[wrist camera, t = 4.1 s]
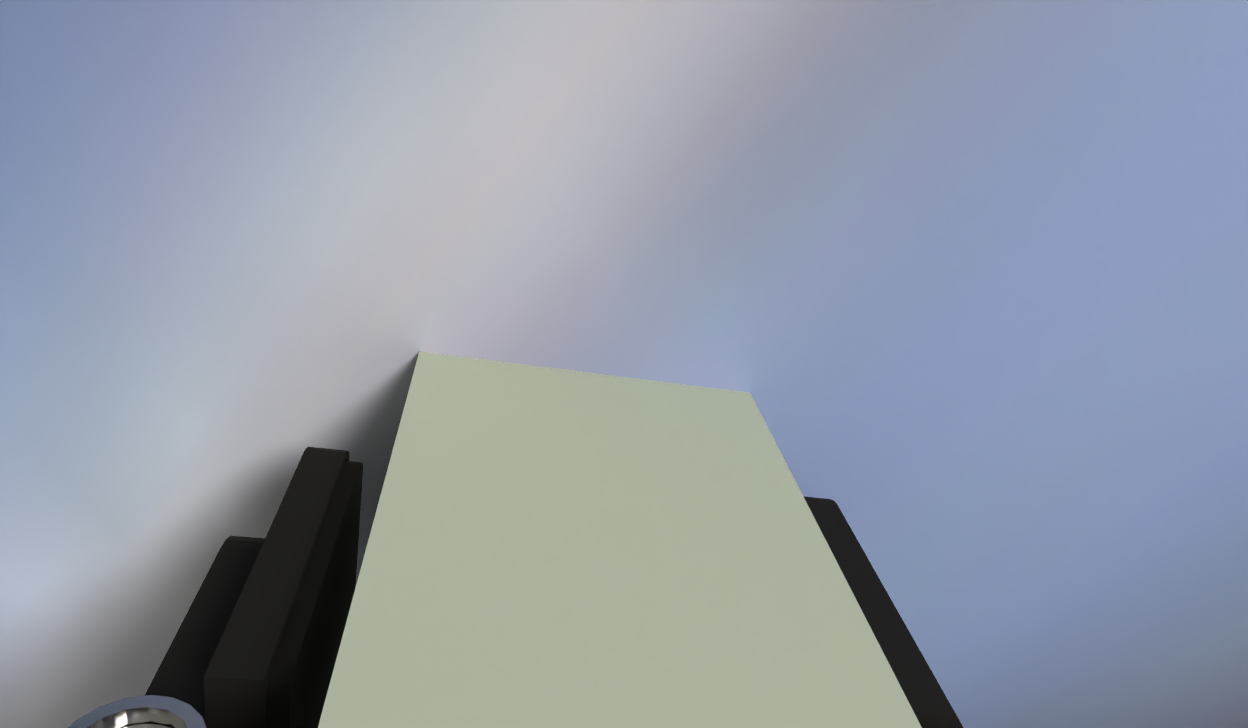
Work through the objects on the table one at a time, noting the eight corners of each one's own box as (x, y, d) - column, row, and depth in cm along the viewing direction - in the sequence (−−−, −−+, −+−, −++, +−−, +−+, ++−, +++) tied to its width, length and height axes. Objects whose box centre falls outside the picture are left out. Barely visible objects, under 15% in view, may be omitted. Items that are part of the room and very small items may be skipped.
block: (749, 392, 12) (976, 834, 6) (677, 630, 14) (791, 1136, 8) (419, 350, 11) (292, 824, 5) (394, 611, 14) (284, 1165, 7)
